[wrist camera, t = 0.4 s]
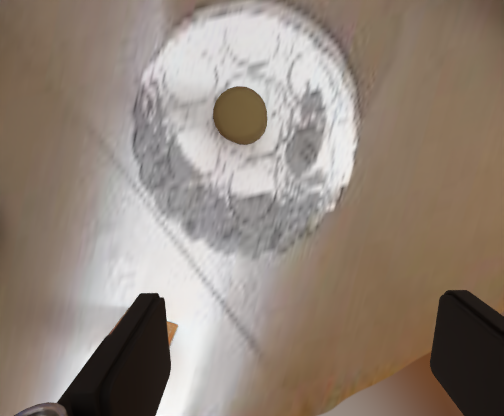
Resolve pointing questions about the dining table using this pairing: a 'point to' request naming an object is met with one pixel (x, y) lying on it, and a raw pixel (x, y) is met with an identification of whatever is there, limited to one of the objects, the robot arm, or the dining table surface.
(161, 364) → the robot arm
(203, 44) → the dining table surface
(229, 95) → the olive pawn
